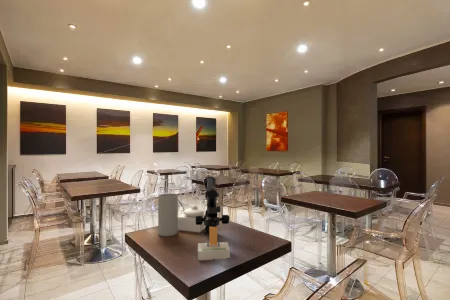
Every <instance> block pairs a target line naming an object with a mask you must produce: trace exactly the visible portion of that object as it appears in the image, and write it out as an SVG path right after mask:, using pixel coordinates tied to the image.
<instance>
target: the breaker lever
mask: <svg viewBox="0 0 450 300" xmlns="http://www.w3.org/2000/svg"><path fill="white" fill-rule="evenodd" d="M208 236H209V237H208V239H209V241H208V242H209V244H210V245H217V243H218V226H217V227H209V235H208Z"/></svg>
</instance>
